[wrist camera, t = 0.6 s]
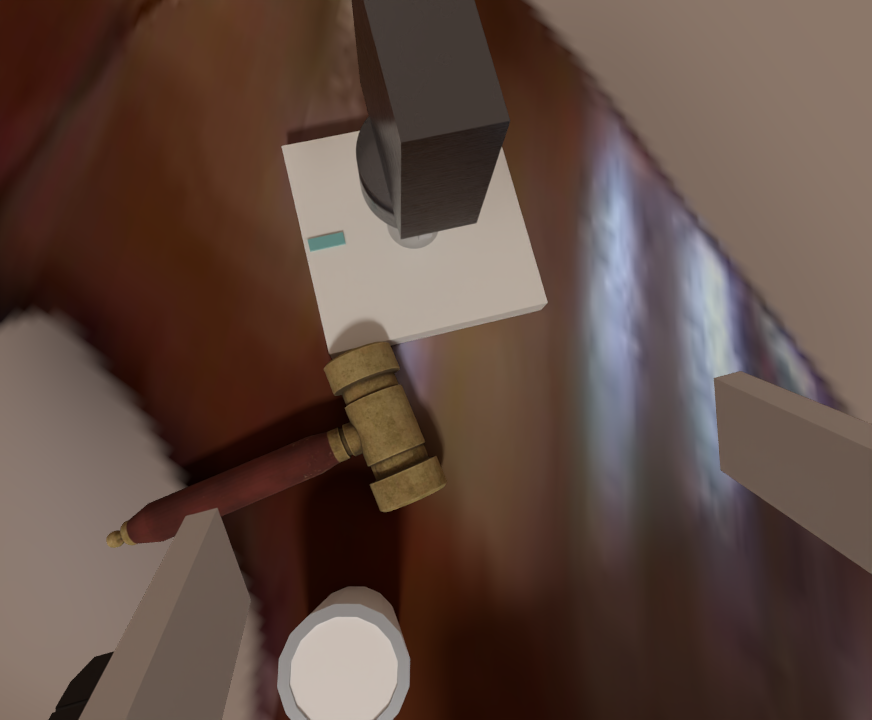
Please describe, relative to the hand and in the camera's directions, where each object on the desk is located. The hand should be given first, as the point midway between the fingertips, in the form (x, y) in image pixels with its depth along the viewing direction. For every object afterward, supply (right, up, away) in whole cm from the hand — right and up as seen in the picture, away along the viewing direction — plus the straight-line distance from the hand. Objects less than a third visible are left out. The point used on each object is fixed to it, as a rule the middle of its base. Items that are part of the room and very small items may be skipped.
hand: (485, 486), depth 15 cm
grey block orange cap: (-2, +14, +18) cm, 23 cm away
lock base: (-3, +12, +26) cm, 29 cm away
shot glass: (-6, -14, +22) cm, 27 cm away
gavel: (-12, -4, +23) cm, 27 cm away
